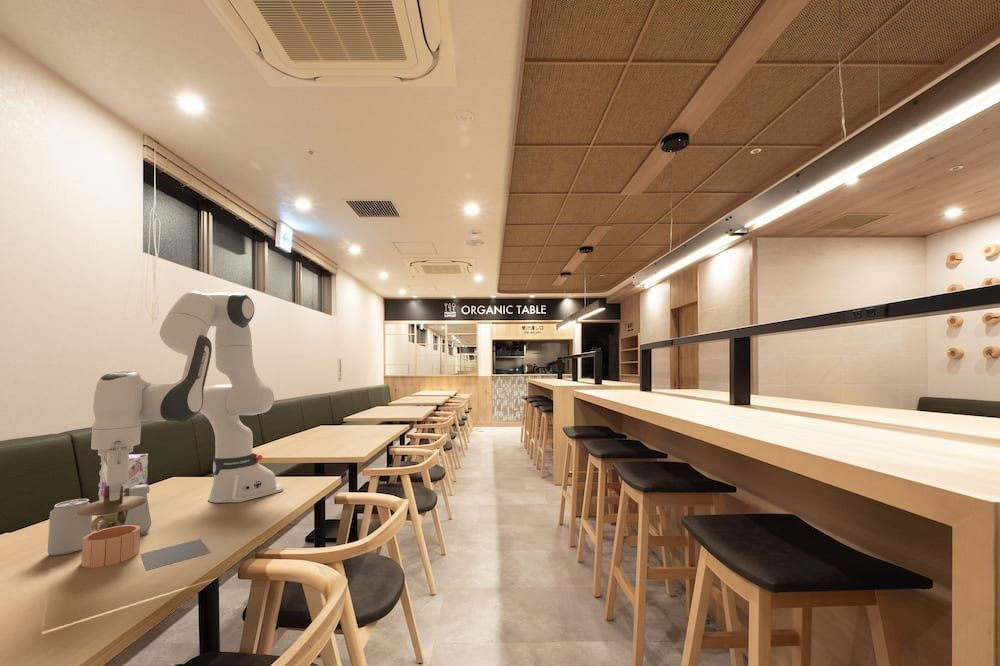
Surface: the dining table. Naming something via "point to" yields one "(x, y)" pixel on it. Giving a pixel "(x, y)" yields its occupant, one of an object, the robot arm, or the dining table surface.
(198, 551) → the mat
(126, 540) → the bowl
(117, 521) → the ceramic sculpture
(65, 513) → the can
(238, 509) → the dining table surface
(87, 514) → the lid
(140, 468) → the candy box
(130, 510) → the salt shaker
